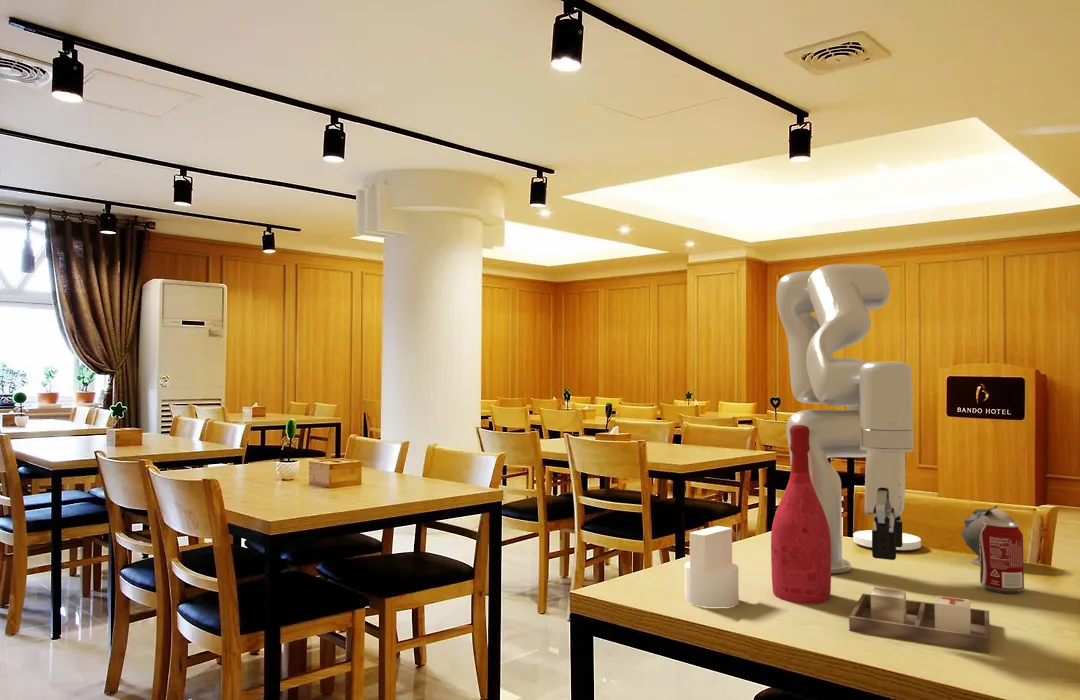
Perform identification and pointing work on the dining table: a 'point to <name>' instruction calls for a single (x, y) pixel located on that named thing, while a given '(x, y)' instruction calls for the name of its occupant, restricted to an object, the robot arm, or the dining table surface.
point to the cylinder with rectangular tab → (711, 569)
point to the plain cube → (888, 605)
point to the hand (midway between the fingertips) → (887, 552)
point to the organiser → (922, 626)
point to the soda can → (1001, 556)
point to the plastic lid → (907, 544)
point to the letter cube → (952, 614)
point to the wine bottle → (800, 534)
